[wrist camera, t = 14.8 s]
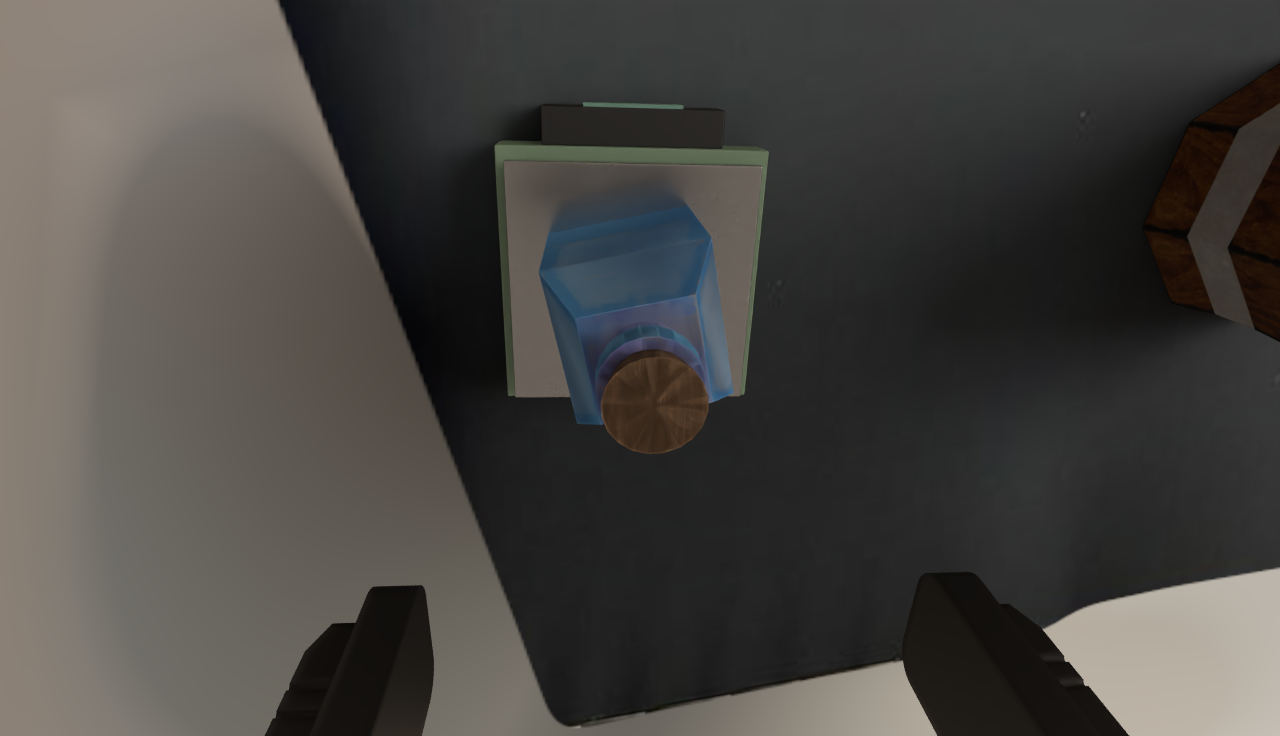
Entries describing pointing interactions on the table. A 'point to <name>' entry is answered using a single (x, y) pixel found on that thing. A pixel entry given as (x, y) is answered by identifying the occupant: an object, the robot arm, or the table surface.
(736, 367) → the pan
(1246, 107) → the mug
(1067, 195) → the table surface
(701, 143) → the scale
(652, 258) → the perfume bottle
